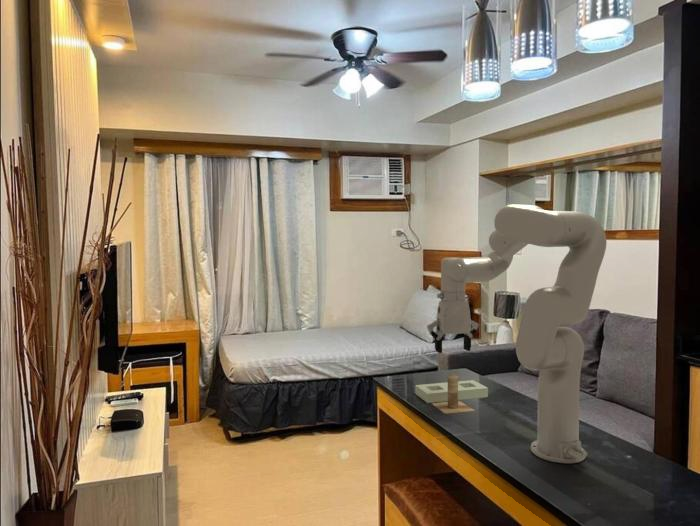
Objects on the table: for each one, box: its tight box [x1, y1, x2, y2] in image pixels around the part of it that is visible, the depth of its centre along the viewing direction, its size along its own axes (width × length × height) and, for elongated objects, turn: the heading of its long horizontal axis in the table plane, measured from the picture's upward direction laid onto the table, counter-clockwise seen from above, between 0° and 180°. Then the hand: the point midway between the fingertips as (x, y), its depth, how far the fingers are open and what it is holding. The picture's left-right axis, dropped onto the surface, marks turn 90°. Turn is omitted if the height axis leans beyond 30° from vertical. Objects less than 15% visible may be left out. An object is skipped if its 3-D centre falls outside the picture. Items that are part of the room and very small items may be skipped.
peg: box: [447, 374, 459, 409], centre depth 157 cm, size 3×3×10 cm
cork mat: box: [431, 400, 476, 415], centre depth 158 cm, size 10×10×1 cm
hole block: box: [414, 379, 489, 404], centre depth 170 cm, size 10×22×4 cm, turn 105°
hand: (453, 351), depth 157 cm, fingers open, 9 cm apart
